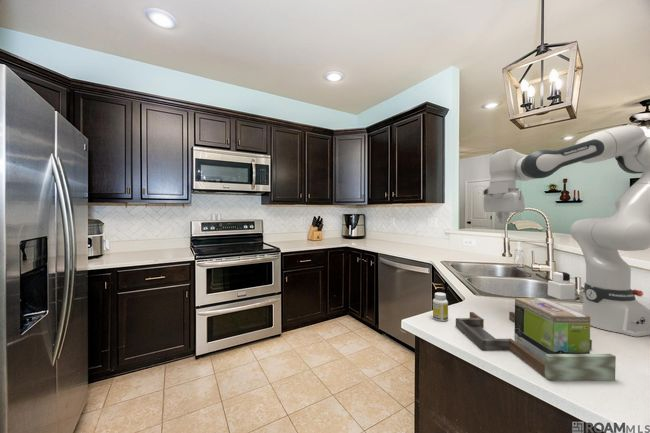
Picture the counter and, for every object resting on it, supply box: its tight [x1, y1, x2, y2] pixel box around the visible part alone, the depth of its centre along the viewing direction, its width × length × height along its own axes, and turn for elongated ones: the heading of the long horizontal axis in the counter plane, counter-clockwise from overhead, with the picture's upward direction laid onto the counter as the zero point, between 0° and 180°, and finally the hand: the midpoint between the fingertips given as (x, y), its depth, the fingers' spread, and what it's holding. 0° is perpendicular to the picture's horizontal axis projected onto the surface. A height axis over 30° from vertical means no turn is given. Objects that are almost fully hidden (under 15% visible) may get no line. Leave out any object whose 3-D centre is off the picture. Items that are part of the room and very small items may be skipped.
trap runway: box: [455, 311, 617, 382], centre depth 83 cm, size 33×36×6 cm
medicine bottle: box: [547, 271, 576, 301], centre depth 126 cm, size 7×7×12 cm
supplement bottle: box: [432, 292, 449, 322], centre depth 103 cm, size 5×5×10 cm
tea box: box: [513, 297, 591, 362], centre depth 76 cm, size 15×10×15 cm
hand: (502, 223), depth 108 cm, fingers closed
